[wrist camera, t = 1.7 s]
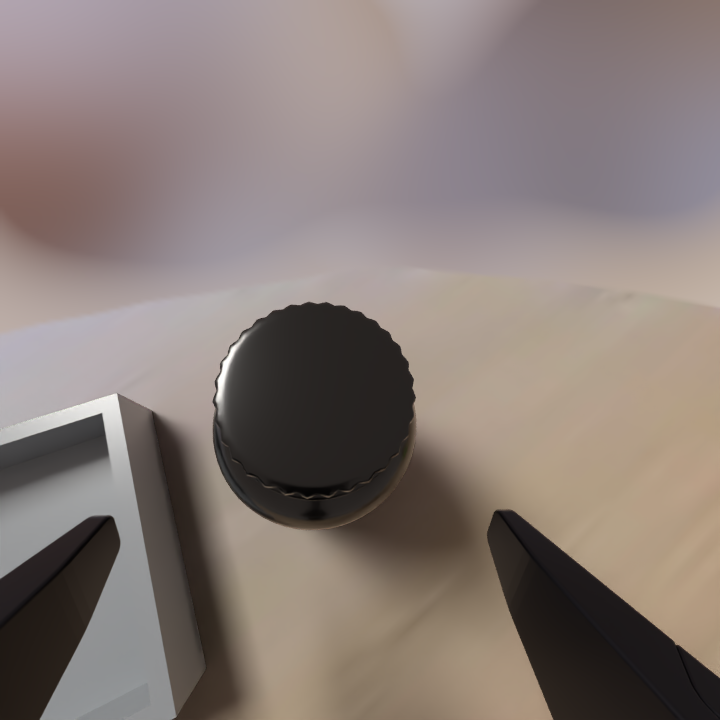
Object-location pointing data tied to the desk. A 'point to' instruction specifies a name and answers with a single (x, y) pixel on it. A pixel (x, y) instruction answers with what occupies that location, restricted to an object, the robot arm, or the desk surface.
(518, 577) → the robot arm
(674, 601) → the desk surface
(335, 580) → the desk surface
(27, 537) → the box
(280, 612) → the desk surface
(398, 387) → the supplement bottle
